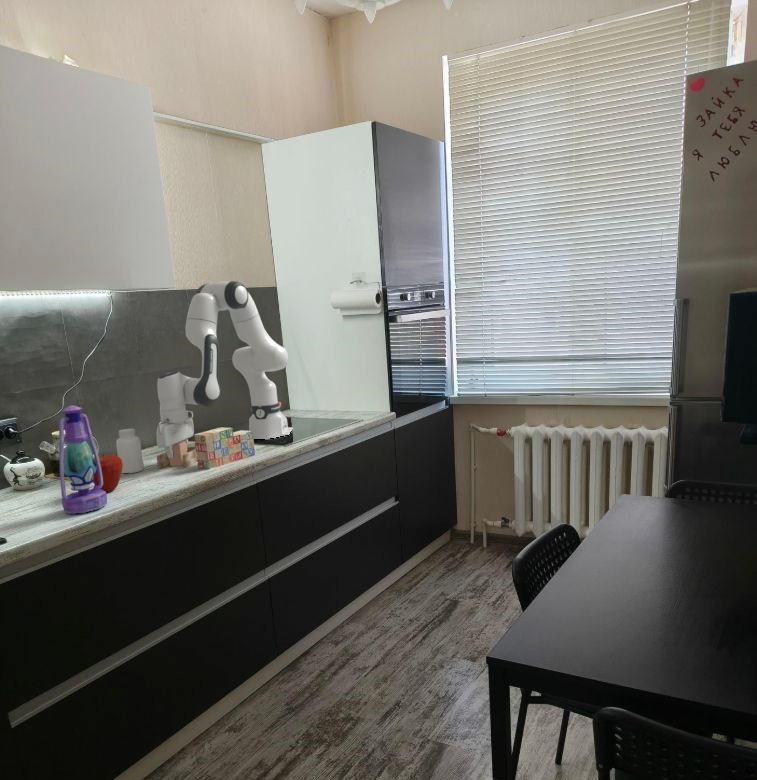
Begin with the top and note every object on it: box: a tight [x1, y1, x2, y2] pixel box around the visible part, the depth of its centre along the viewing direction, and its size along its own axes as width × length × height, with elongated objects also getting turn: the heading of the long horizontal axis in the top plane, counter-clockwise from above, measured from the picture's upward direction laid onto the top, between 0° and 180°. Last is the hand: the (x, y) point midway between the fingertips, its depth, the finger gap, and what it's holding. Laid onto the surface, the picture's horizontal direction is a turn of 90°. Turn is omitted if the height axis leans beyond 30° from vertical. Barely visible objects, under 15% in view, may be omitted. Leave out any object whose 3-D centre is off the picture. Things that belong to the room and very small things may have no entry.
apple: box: [93, 453, 123, 493], centre depth 191 cm, size 11×11×12 cm
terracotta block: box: [169, 441, 187, 467], centre depth 221 cm, size 4×4×8 cm
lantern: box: [58, 405, 108, 515], centre depth 172 cm, size 13×12×30 cm
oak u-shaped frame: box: [156, 445, 198, 469], centre depth 223 cm, size 14×11×4 cm
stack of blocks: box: [193, 426, 256, 470], centre depth 220 cm, size 21×6×12 cm, turn 144°
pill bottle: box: [115, 428, 145, 474], centre depth 215 cm, size 8×8×15 cm
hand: (177, 454), depth 220 cm, fingers open, 8 cm apart
